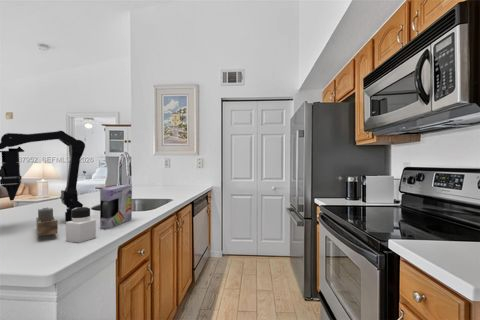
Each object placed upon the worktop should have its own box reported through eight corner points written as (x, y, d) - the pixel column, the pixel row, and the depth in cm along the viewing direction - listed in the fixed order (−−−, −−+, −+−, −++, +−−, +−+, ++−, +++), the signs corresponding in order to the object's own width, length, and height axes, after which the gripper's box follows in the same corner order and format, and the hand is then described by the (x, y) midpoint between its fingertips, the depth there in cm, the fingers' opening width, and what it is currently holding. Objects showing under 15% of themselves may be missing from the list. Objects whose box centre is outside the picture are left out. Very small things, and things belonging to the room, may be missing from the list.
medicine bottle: (96, 237, 106) (96, 206, 106) (80, 243, 99) (79, 210, 99) (82, 236, 108) (82, 205, 108) (65, 241, 101) (65, 209, 101)
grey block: (52, 219, 119) (52, 206, 119) (53, 221, 116) (52, 208, 115) (38, 221, 116) (37, 208, 116) (38, 223, 112) (38, 209, 112)
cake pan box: (108, 230, 117) (107, 188, 117) (97, 229, 118) (97, 188, 118) (132, 219, 136) (132, 184, 136) (123, 219, 137) (123, 184, 137)
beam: (53, 227, 122) (53, 211, 122) (57, 239, 104) (57, 220, 104) (36, 229, 118) (36, 213, 118) (38, 242, 100) (37, 223, 100)
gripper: (-12, 163, 120) (-11, 198, 120) (-19, 164, 105) (-17, 204, 105) (20, 162, 126) (22, 195, 127) (19, 162, 111) (20, 201, 112)
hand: (12, 199), depth 117 cm, fingers open, 9 cm apart
